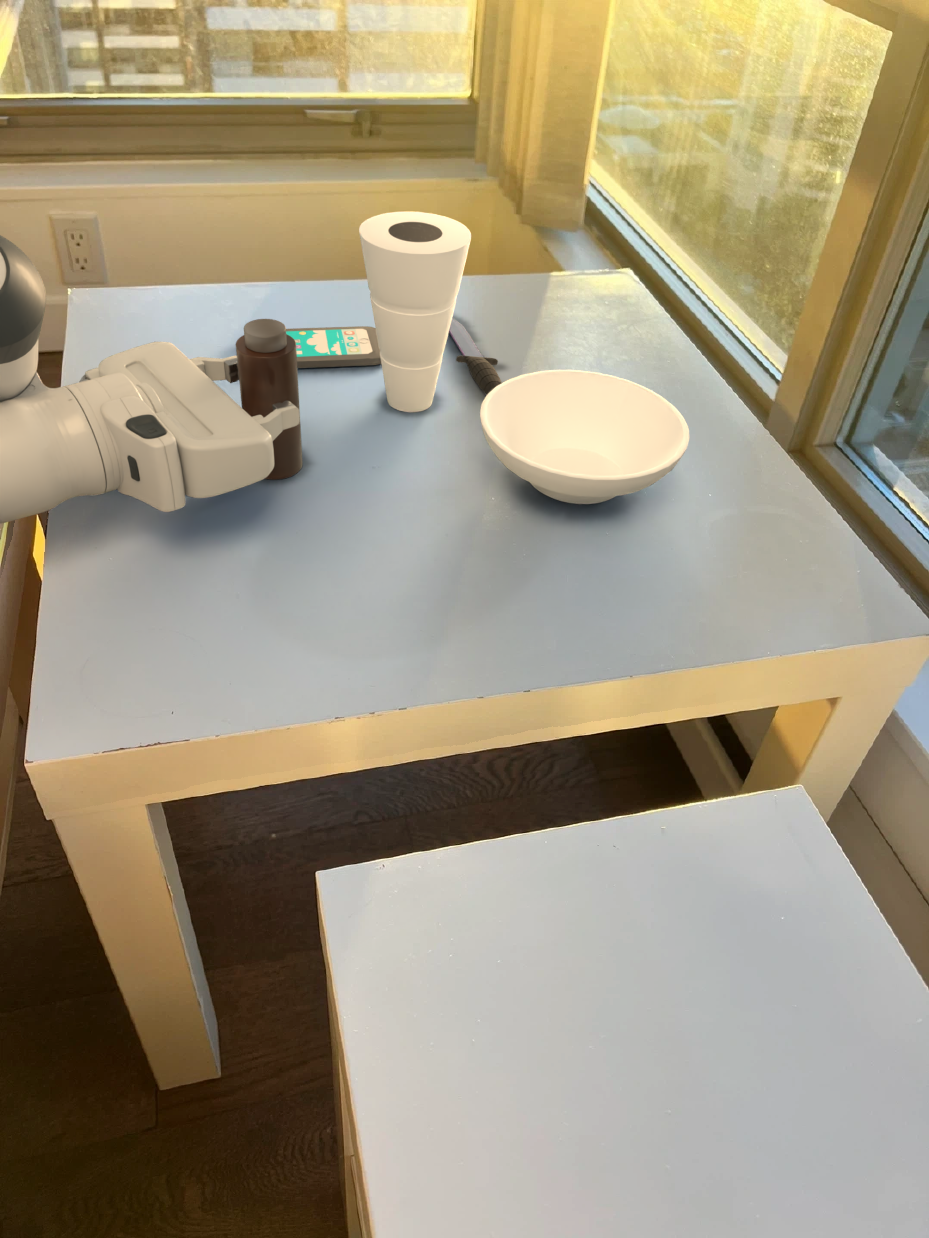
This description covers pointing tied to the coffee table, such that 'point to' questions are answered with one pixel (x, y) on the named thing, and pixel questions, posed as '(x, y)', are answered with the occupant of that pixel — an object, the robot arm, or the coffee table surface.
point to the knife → (474, 358)
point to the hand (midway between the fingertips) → (268, 388)
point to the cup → (413, 297)
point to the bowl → (583, 433)
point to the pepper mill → (271, 385)
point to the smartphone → (336, 346)
